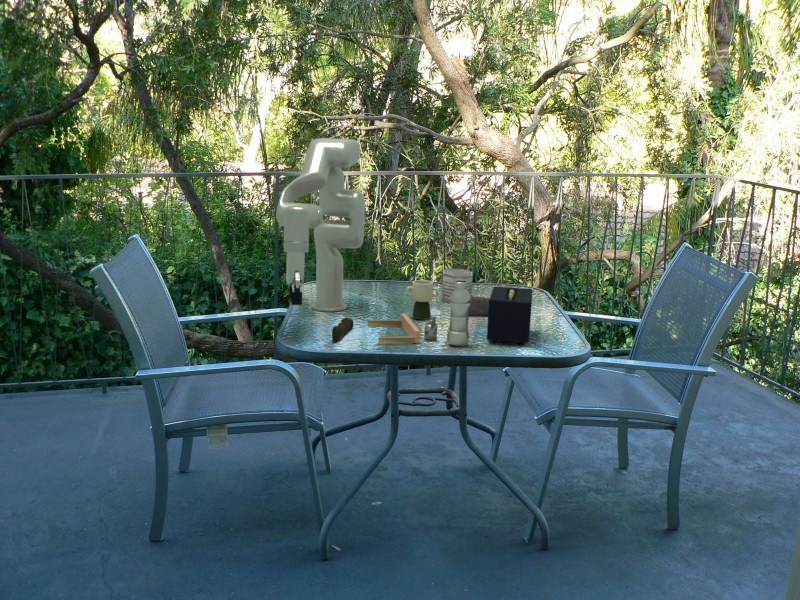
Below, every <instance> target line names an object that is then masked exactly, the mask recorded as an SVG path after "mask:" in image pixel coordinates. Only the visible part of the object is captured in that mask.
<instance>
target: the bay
mask: <svg viewBox="0 0 800 600" xmlns="http://www.w3.org/2000/svg"><path fill="white" fill-rule="evenodd" d="M401 325H402V320H401V319H368V320H367V326H368V328H380V327H381V328H383V327H385V328H388V327H389V328H390V327H393V328H394V327H398V328H399V327H400V328H401ZM413 343H415V337H414V336H408V335H407V336H405V335H403V336H378V345H414V344H413Z"/></svg>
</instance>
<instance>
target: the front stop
mask: <svg viewBox="0 0 800 600" xmlns="http://www.w3.org/2000/svg"><path fill="white" fill-rule="evenodd" d="M400 320H402V325H401V326H400V328H402V329H403V330H404V332H405V333H406V334H407V336H408V335H409V336H414V337H415V343H417V344H416V345H419V344H418V343H421V342H420V341H421V339H420V338H421V331H420V328H419V327H417V326H416V325H415V323H414V322H413V321H412V320H411V319H410V317H409V316H408V315H407V313H401V314H400Z"/></svg>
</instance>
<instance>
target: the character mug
mask: <svg viewBox="0 0 800 600" xmlns="http://www.w3.org/2000/svg"><path fill="white" fill-rule="evenodd" d="M410 290H411V292H410ZM434 291H435V293H434ZM406 296H408V297H411V299H412V301H414V304H413V309H412V310H413V311H412V317H413V318H415V319H417V320H428V319H430V318H431V317H432V316H431V314H432V313H431V305H430V301H432V300H433V298H438V297H439V287H434V282H433V281H431V280H426V279H418V280H413V281H412V286H409V285H407V287H406Z"/></svg>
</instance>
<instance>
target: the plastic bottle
mask: <svg viewBox="0 0 800 600" xmlns="http://www.w3.org/2000/svg"><path fill="white" fill-rule="evenodd" d="M454 287H455V290H454V291H453V292H452V294H451V296H450V305H449V308H450V317H449V318H450V321H449V325H448V326H449V327H448V331H447V336H446V337H447V342H448V344H449V345H452V346H456V347H459V346H460V347H463V346H466V345H468V343H469V342H470V341H469V340H470V333H469V316H470V315H469V309H470V304H471V296H470V294H469V292H468V291H467V289H466V288H467V281H464V280H456V281H455V285H454Z"/></svg>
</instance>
